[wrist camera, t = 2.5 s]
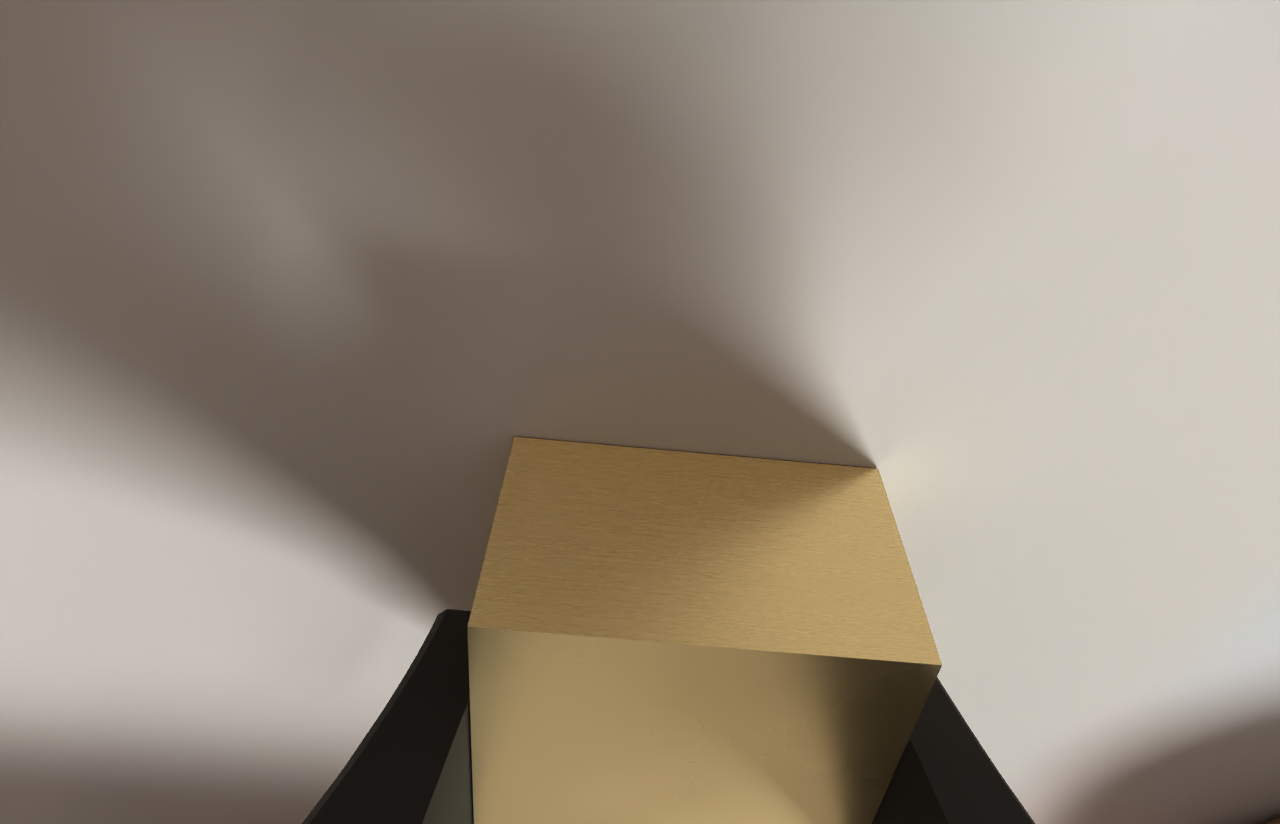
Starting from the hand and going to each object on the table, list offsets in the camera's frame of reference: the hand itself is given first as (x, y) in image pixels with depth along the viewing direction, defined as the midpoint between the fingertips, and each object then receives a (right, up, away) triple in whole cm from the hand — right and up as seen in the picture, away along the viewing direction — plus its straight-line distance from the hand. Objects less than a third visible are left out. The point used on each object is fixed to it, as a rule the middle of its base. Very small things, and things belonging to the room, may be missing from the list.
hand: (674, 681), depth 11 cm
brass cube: (0, +1, +1) cm, 1 cm away
